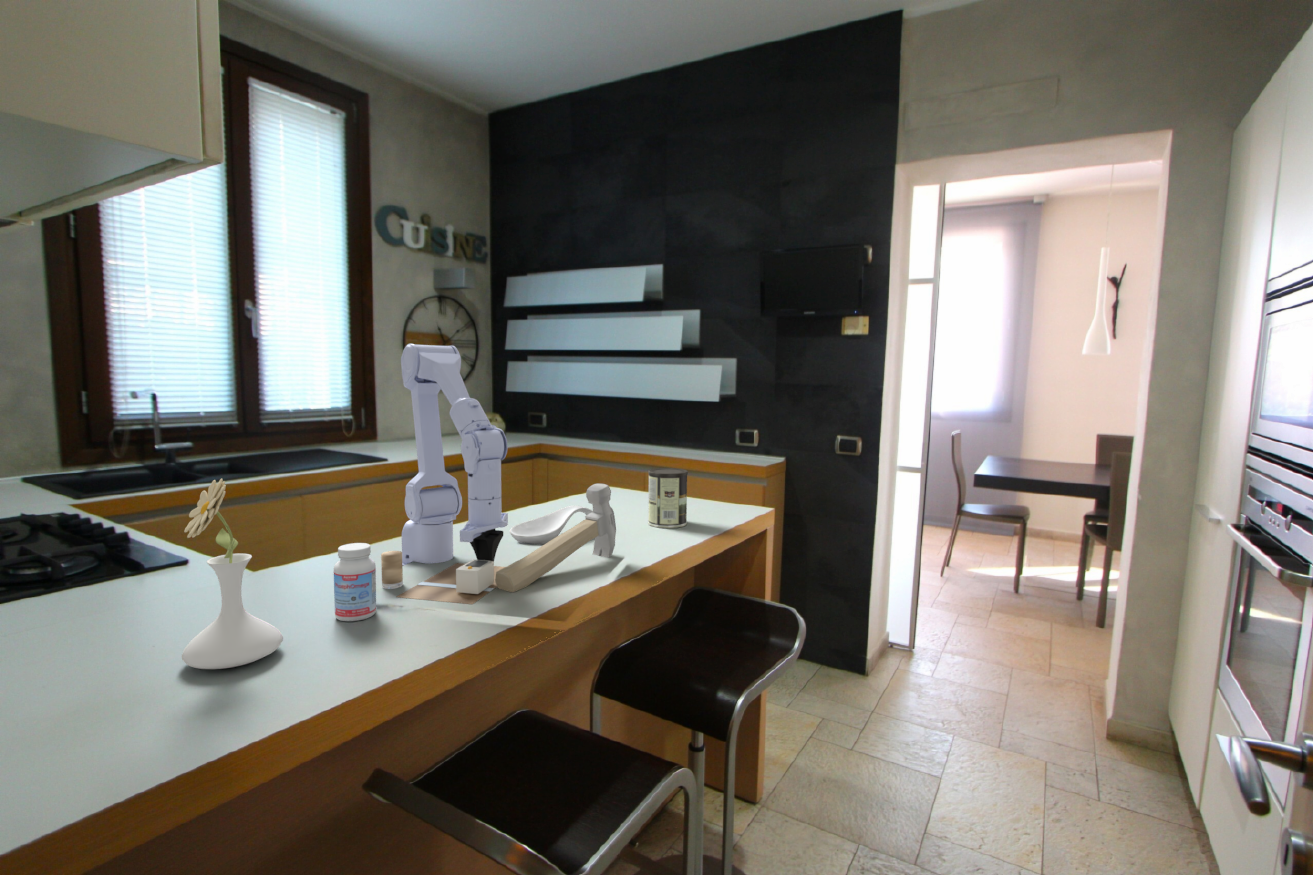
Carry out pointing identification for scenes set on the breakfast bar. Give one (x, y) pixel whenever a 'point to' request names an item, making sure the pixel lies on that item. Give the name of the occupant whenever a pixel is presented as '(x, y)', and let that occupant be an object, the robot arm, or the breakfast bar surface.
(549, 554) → the hammer
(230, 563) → the flower in vase
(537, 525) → the spoon rest
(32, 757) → the breakfast bar surface
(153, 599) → the breakfast bar surface
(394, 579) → the tan rounded cylinder
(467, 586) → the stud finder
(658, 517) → the coffee can
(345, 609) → the pill bottle
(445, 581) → the board
